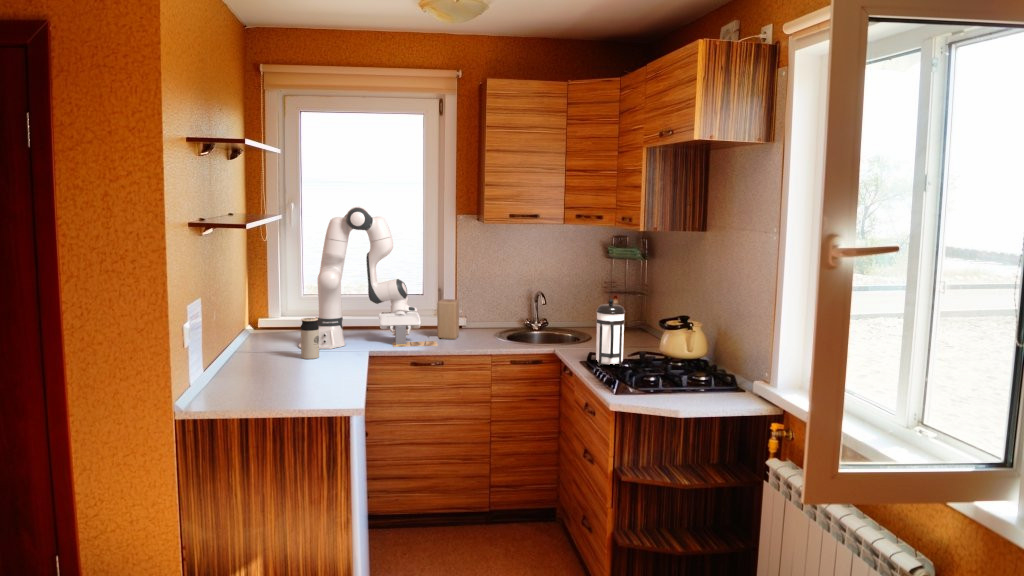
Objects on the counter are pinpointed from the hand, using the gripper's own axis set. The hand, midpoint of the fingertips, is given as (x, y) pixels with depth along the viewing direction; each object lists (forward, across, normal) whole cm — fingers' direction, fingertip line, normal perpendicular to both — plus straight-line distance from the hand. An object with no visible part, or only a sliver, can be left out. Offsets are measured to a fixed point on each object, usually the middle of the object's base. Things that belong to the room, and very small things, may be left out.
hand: (400, 334), depth 375 cm
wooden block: (-12, +26, +21) cm, 36 cm away
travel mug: (+18, -42, -8) cm, 46 cm away
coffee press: (+43, +90, -34) cm, 105 cm away
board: (+4, +7, +5) cm, 10 cm away
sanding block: (+3, 0, +4) cm, 5 cm away
